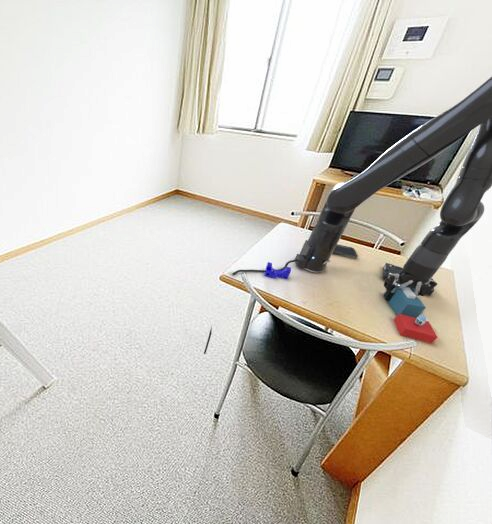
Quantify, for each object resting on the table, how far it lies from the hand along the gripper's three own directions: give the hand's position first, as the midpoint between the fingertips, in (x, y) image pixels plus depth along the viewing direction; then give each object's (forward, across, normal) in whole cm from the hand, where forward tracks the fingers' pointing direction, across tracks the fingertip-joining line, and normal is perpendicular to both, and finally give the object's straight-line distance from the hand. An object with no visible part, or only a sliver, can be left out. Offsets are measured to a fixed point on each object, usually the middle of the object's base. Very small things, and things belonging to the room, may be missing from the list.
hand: (395, 300), depth 103 cm
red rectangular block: (+1, +2, +14) cm, 14 cm away
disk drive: (+1, -10, -14) cm, 18 cm away
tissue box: (0, 0, +2) cm, 3 cm away
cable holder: (+1, +39, -3) cm, 39 cm away
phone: (+1, +10, -30) cm, 32 cm away
